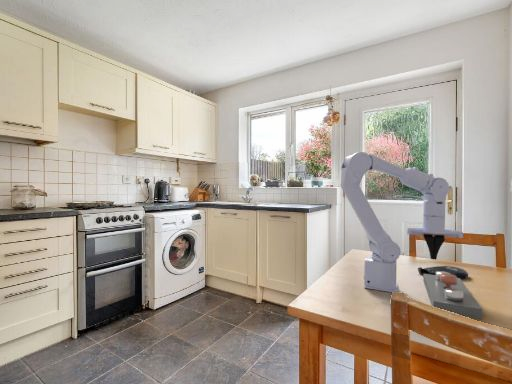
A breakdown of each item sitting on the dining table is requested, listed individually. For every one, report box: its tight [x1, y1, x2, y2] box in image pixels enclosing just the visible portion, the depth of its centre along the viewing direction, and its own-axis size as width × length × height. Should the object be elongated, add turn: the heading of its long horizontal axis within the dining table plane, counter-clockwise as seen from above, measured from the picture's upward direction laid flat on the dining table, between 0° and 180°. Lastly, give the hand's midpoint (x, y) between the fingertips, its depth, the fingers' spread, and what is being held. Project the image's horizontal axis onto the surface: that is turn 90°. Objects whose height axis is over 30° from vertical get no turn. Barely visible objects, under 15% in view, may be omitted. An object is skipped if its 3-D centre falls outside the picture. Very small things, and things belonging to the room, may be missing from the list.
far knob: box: [435, 271, 450, 280], centre depth 85 cm, size 4×4×4 cm
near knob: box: [445, 288, 463, 302], centre depth 71 cm, size 4×4×4 cm
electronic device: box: [417, 265, 469, 280], centre depth 96 cm, size 9×6×15 cm
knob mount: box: [422, 274, 483, 320], centre depth 78 cm, size 10×24×2 cm, turn 153°
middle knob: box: [440, 273, 457, 288], centre depth 78 cm, size 4×4×4 cm
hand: (433, 258), depth 85 cm, fingers closed
